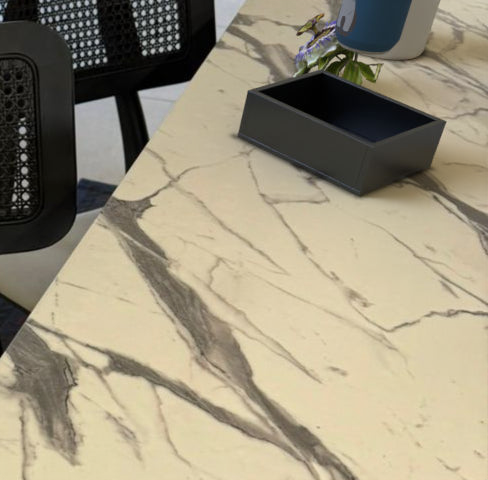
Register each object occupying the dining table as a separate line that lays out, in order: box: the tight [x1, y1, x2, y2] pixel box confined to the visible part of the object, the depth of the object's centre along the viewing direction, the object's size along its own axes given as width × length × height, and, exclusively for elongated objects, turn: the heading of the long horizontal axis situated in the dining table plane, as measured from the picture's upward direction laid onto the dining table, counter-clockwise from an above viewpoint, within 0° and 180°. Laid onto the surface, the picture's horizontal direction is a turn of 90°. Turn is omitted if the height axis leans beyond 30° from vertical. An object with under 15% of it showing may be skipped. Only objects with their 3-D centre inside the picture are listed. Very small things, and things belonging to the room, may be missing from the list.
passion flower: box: [292, 12, 385, 86], centre depth 132 cm, size 11×11×12 cm
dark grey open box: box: [237, 69, 447, 198], centre depth 117 cm, size 18×14×6 cm
